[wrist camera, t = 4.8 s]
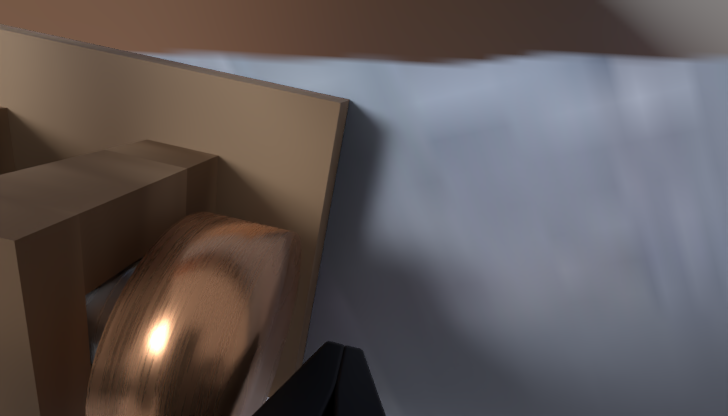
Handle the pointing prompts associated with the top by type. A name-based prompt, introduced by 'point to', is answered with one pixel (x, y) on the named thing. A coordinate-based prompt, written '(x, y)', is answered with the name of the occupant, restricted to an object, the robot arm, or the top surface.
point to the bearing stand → (136, 190)
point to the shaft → (194, 321)
